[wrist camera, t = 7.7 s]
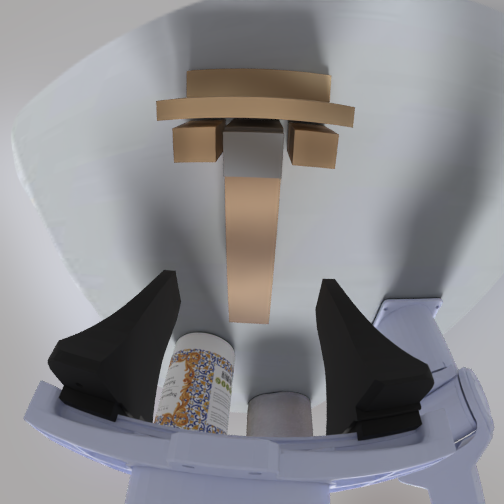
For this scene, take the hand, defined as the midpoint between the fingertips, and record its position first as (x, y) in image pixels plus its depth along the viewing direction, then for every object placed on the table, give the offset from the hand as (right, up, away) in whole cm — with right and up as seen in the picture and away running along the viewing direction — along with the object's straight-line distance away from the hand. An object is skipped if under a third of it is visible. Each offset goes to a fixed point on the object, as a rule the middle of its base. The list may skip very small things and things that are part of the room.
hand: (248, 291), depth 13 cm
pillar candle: (+4, -21, +24) cm, 33 cm away
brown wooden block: (0, +5, +7) cm, 9 cm away
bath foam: (-5, -9, +17) cm, 20 cm away
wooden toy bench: (+1, +11, +3) cm, 12 cm away
